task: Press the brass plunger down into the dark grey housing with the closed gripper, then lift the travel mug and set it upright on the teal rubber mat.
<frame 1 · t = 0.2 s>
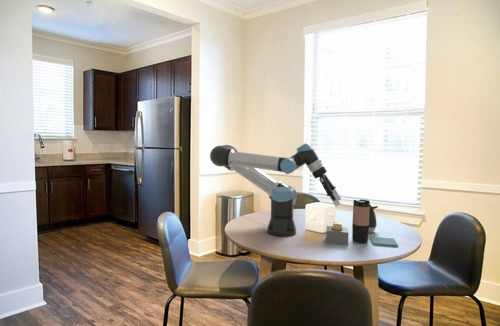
hand: (338, 202, 187), 15 cm above the table, tool tilted 35°, fingers open, 13 cm apart
mat: (383, 242, 167), on the table
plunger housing: (336, 241, 168), on the table
pump dispenser: (366, 232, 187), on the table
travel mug: (359, 241, 169), on the table
plunger: (337, 229, 168), point 6 cm above the table, slide at 0.0 cm
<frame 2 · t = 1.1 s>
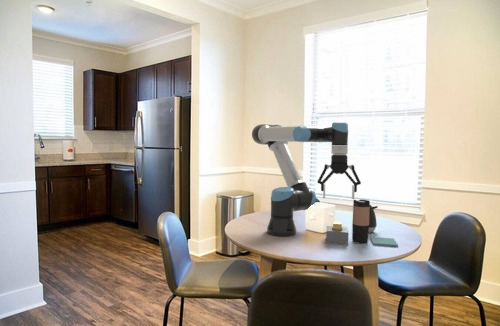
hand: (338, 198, 168), 21 cm above the table, tool pointing down, fingers open, 13 cm apart
nothing on the table moved.
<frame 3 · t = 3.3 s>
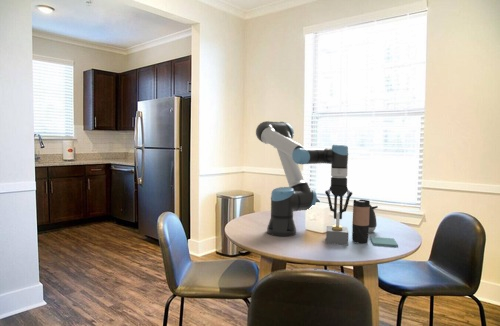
hand: (337, 225, 167), 8 cm above the table, tool pointing down, fingers closed
plunger: (337, 232, 168), point 5 cm above the table, slide at 1.5 cm, touching gripper
everything else where it was.
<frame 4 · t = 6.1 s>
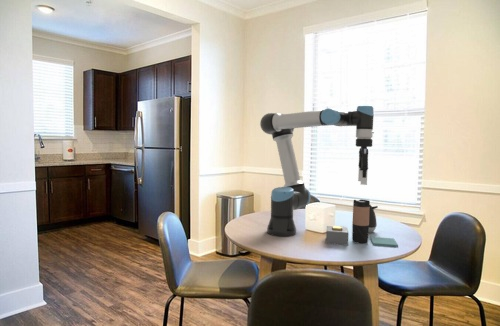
hand: (362, 182, 167), 29 cm above the table, tool pointing down, fingers open, 13 cm apart
plunger: (337, 233, 168), point 4 cm above the table, slide at 2.0 cm
everything else where it was.
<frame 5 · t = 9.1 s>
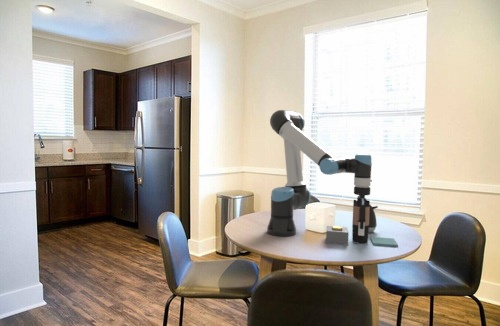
hand: (360, 232, 168), 4 cm above the table, tool pointing down, fingers closed on travel mug, 8 cm apart
travel mug: (359, 241, 169), on the table, touching gripper
everything else where it was.
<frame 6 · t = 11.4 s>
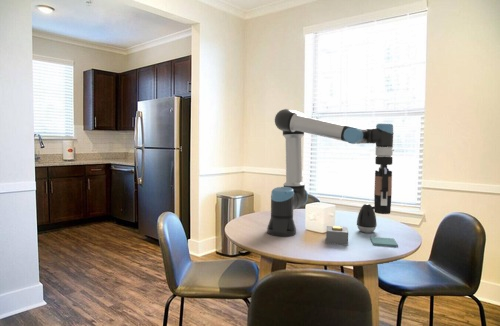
hand: (382, 203, 166), 19 cm above the table, tool pointing down, fingers closed on travel mug, 8 cm apart
travel mug: (382, 212, 166), point 15 cm above the table, touching gripper
everything else where it was.
when the fingers open (7 cm above the table, at t = 14.1 s): travel mug drops 1 cm, resting on mat.
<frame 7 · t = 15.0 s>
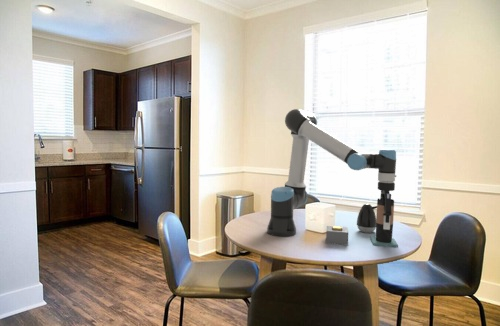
hand: (384, 225, 167), 8 cm above the table, tool pointing down, fingers open, 13 cm apart
travel mug: (383, 241, 167), point 1 cm above the table, touching mat
everything else where it was.
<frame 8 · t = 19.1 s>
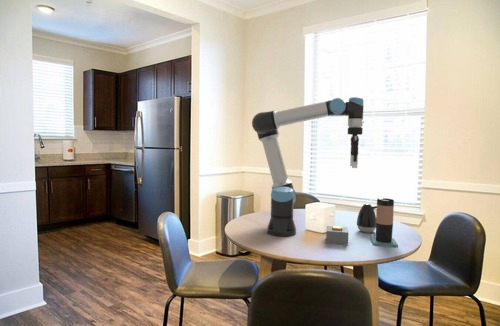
hand: (353, 167, 185), 35 cm above the table, tool pointing down, fingers open, 13 cm apart
nothing on the table moved.
at the end: plunger slide at 2.0 cm; travel mug 0.0 cm off-centre on the mat, point 0.8 cm above the mat's base; travel mug tilted 0° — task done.
